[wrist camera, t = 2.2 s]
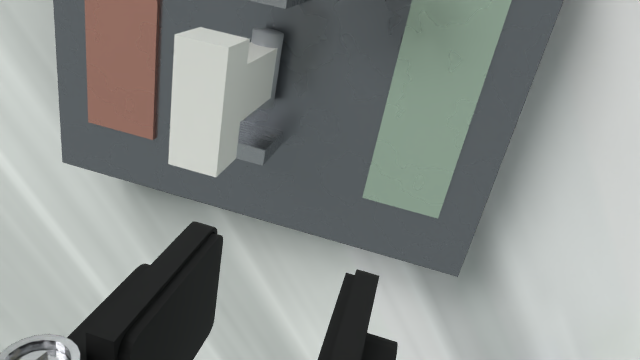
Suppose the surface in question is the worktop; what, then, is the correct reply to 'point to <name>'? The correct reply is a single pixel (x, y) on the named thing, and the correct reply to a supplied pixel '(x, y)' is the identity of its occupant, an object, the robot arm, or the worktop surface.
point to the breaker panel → (318, 111)
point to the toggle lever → (218, 93)
